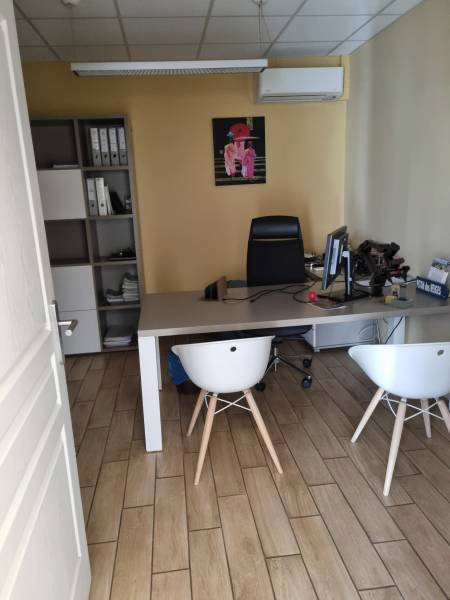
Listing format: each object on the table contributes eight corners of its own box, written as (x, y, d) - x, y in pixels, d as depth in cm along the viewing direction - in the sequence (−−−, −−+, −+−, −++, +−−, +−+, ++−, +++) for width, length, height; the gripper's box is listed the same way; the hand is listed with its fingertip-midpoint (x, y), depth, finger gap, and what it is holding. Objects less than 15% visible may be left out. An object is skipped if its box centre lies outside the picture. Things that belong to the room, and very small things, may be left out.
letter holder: (227, 294, 315) (227, 274, 312) (218, 301, 297) (218, 280, 293) (213, 294, 318) (212, 273, 314) (204, 301, 299) (203, 279, 296)
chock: (385, 302, 280) (385, 296, 279) (389, 301, 282) (389, 295, 281) (392, 304, 276) (393, 297, 275) (396, 303, 278) (397, 296, 277)
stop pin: (396, 303, 273) (398, 283, 271) (403, 303, 274) (405, 283, 271) (400, 305, 269) (401, 285, 267) (407, 305, 270) (408, 285, 267)
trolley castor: (389, 301, 283) (389, 286, 280) (394, 299, 286) (395, 284, 284) (396, 302, 279) (397, 287, 276) (402, 301, 282) (403, 285, 280)
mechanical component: (408, 298, 288) (409, 282, 285) (391, 298, 290) (392, 282, 287) (407, 297, 290) (408, 281, 288) (390, 297, 292) (391, 281, 290)
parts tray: (390, 305, 273) (391, 299, 272) (399, 303, 278) (399, 296, 277) (404, 308, 266) (405, 302, 265) (413, 305, 271) (413, 299, 270)
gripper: (381, 254, 271) (390, 276, 264) (409, 251, 275) (419, 273, 268) (373, 265, 281) (382, 286, 273) (401, 262, 285) (410, 284, 277)
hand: (399, 282), depth 273 cm, fingers open, 9 cm apart
